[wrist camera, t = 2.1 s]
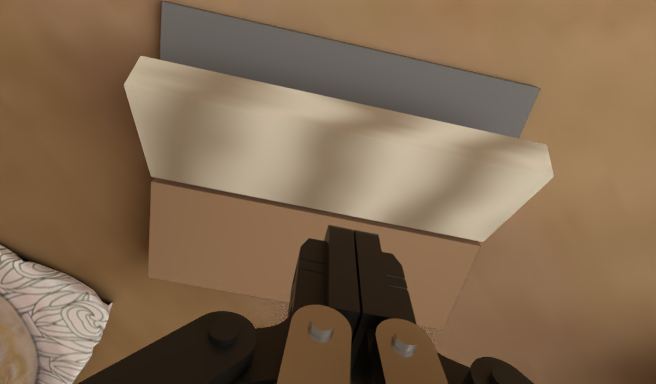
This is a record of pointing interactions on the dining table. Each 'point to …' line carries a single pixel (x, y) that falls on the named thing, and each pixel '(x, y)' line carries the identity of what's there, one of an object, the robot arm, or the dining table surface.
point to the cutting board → (302, 222)
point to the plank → (329, 152)
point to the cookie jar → (45, 322)
